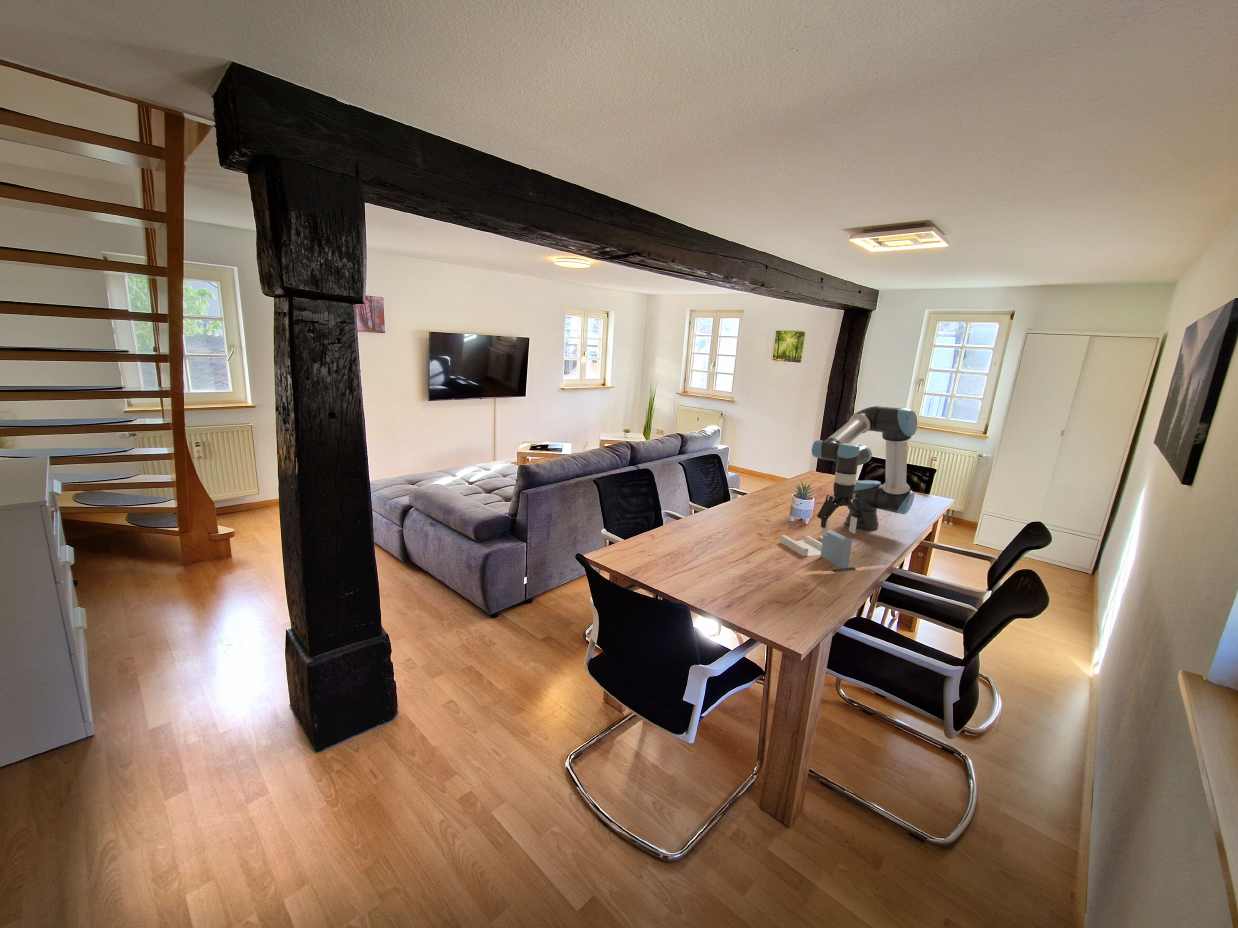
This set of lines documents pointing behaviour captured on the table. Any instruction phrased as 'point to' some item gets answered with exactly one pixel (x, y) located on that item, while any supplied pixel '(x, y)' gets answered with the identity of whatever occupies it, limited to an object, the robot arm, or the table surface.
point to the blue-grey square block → (836, 549)
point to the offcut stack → (819, 538)
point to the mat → (844, 570)
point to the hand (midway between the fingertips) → (838, 533)
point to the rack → (804, 545)
